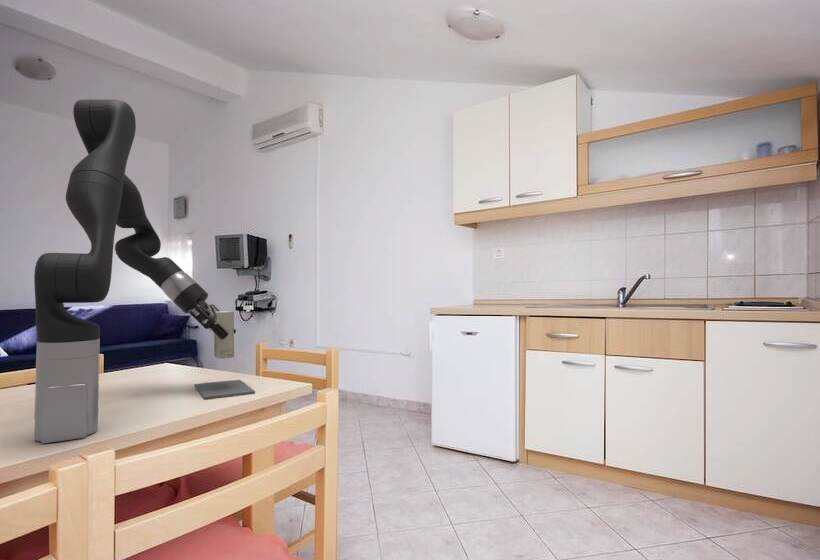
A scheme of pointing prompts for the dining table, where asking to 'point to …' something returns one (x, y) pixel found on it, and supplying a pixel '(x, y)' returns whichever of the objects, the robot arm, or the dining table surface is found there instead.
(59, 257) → the robot arm
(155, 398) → the dining table surface
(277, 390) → the dining table surface
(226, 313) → the skincare box
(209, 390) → the mat
